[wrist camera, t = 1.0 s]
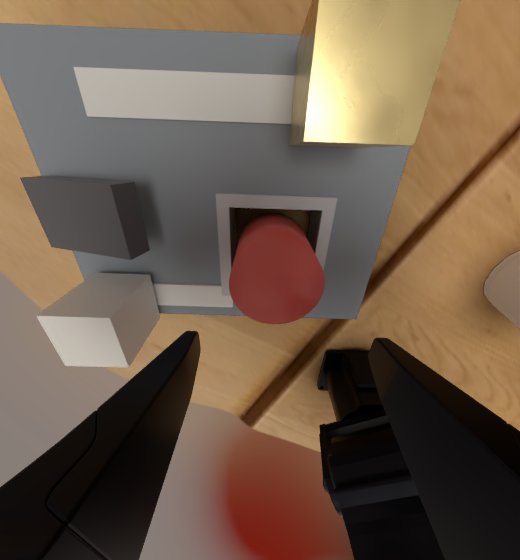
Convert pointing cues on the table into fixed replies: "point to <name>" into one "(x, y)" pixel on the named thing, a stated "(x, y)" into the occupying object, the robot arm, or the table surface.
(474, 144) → the table surface
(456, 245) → the table surface
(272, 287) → the red button
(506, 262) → the foam cup
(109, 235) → the block
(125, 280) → the ivory slider
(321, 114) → the brass slider
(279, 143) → the panel
